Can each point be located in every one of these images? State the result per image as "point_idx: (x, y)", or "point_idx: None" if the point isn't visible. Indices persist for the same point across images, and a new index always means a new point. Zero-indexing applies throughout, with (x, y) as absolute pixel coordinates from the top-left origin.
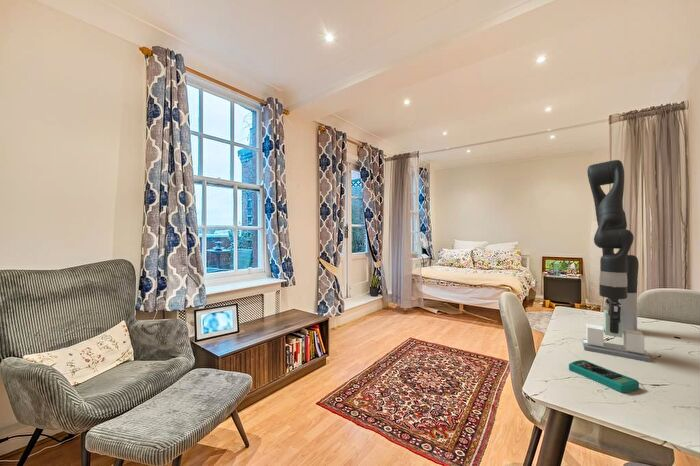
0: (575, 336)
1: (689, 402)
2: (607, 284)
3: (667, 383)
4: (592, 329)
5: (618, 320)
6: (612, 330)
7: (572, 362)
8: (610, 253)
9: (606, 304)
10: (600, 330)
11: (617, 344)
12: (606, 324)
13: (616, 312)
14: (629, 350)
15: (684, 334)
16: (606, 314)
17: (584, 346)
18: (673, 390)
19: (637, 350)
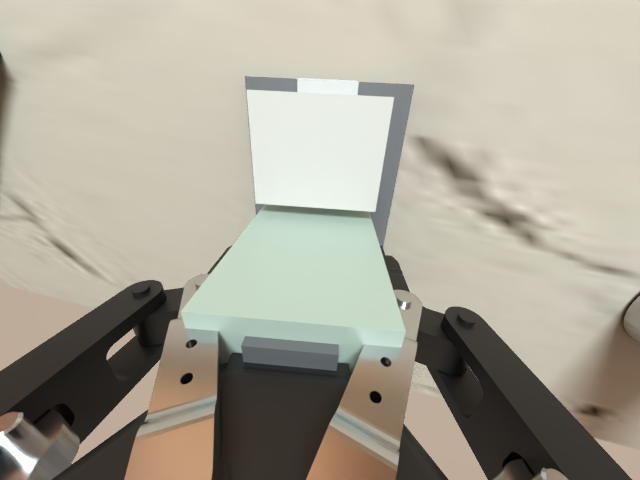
0: (515, 50)
1: (21, 284)
2: None
3: (107, 278)
4: (252, 130)
5: (135, 337)
6: (228, 250)
7: None
8: None
9: (132, 473)
10: (256, 183)
11: (383, 238)
12: (239, 240)
13: (58, 408)
14: None
15: (633, 433)
16: (192, 302)
17: (248, 77)
18: (67, 276)
19: None
